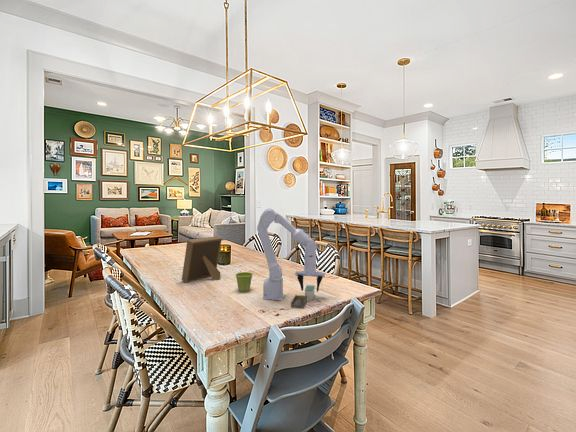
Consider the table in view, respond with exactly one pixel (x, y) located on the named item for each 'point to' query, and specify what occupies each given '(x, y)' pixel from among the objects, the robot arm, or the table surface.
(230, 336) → the table surface
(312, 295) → the teal rectangular brick
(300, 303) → the grey rectangular tray
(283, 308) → the table surface
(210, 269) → the photo frame
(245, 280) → the plant pot
